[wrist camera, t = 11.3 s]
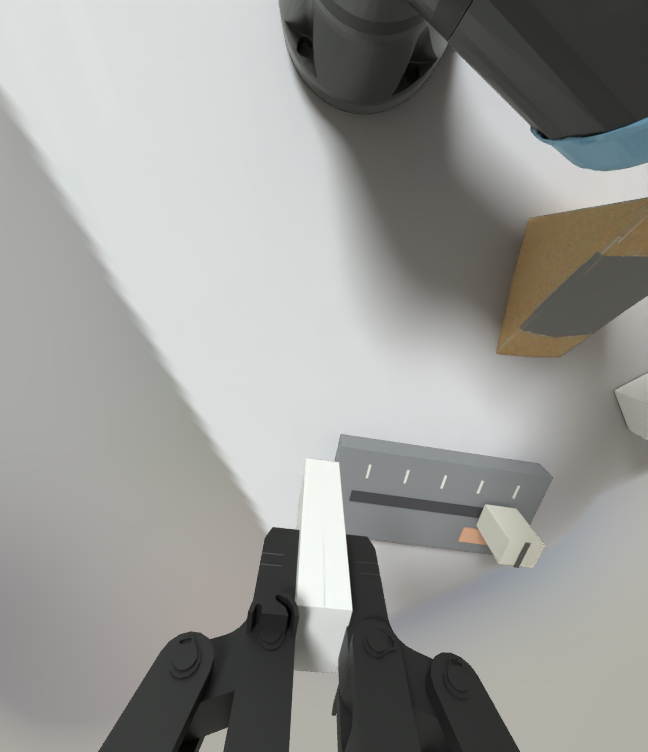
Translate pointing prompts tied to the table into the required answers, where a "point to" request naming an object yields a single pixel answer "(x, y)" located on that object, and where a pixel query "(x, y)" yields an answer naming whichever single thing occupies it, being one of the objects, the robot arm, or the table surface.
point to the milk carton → (635, 405)
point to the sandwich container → (575, 277)
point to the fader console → (430, 492)
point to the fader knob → (509, 536)
